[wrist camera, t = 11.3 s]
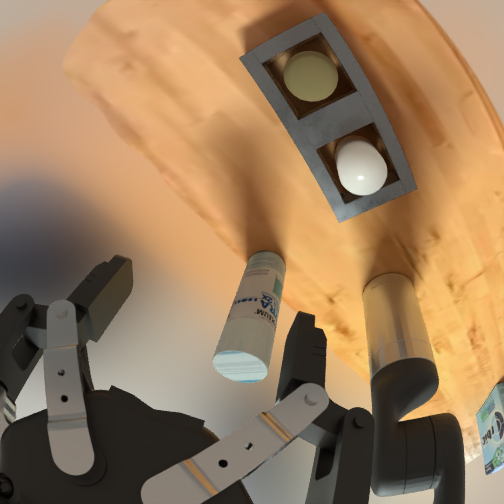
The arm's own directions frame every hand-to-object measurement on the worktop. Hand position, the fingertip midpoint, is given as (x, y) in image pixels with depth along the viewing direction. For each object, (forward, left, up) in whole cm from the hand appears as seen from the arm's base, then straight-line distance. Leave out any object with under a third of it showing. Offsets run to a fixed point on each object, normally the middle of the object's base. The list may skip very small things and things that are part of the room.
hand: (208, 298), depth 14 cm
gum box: (-89, -25, -30) cm, 97 cm away
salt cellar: (-6, -8, -30) cm, 32 cm away
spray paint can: (-16, +12, -30) cm, 36 cm away
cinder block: (0, -8, -30) cm, 31 cm away
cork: (+6, -8, -30) cm, 32 cm away
